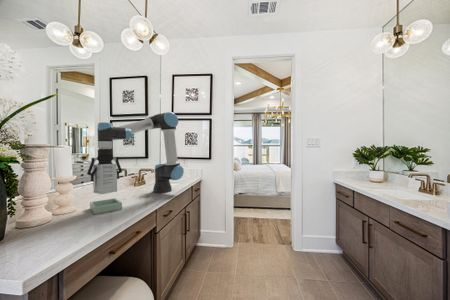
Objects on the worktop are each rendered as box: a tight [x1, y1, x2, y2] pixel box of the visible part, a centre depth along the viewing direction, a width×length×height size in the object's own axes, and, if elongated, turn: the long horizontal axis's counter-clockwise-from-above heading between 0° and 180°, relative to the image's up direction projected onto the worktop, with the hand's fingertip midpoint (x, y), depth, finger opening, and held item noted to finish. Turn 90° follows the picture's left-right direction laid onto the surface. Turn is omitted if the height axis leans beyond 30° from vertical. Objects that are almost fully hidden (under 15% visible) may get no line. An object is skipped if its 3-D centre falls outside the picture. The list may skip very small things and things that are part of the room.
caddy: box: [89, 197, 123, 215], centre depth 119 cm, size 14×15×4 cm
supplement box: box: [92, 163, 118, 195], centre depth 119 cm, size 10×9×17 cm
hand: (105, 185), depth 119 cm, fingers closed on supplement box, 11 cm apart
